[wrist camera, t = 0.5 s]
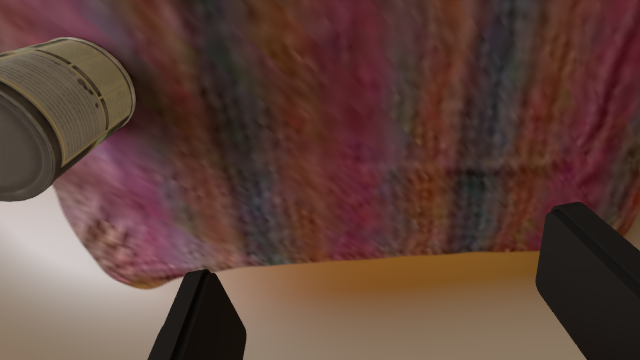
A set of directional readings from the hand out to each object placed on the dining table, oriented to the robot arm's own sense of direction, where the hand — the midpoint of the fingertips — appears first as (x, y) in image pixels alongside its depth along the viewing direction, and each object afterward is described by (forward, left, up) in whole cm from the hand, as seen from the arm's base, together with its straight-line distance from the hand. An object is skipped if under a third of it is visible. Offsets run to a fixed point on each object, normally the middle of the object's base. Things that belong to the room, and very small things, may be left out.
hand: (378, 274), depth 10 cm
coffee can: (+2, -26, -30) cm, 40 cm away
